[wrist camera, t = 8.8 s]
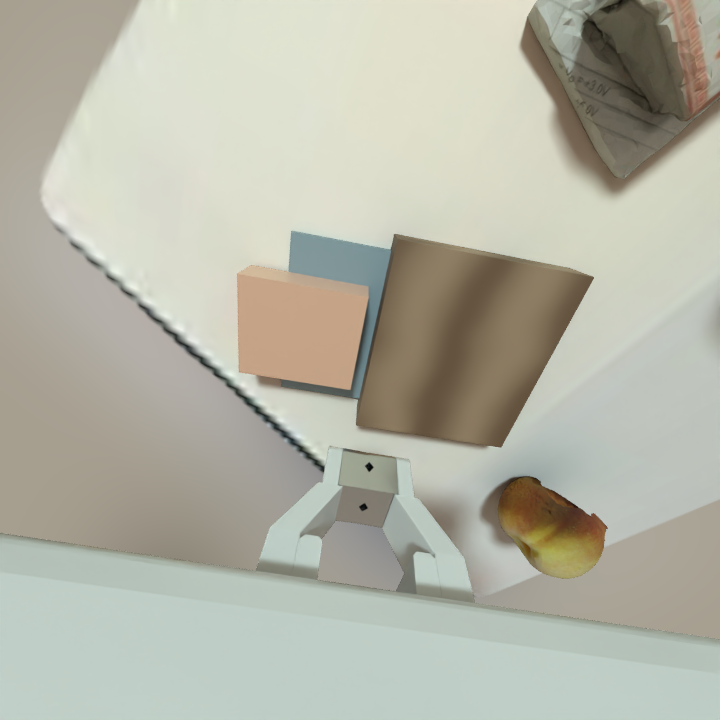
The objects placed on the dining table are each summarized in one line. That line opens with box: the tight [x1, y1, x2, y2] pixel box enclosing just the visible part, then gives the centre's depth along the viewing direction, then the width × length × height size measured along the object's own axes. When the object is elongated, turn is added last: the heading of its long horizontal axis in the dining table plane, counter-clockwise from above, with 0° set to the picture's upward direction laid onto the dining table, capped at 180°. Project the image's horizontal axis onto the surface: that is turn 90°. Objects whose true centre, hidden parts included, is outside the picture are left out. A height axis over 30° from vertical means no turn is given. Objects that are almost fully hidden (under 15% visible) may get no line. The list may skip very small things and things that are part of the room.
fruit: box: [498, 476, 608, 579], centre depth 27 cm, size 8×8×8 cm
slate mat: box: [281, 231, 391, 399], centre depth 23 cm, size 8×12×1 cm, turn 170°
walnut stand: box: [356, 234, 594, 447], centre depth 22 cm, size 12×14×2 cm
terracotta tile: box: [237, 265, 369, 390], centre depth 21 cm, size 8×7×2 cm
